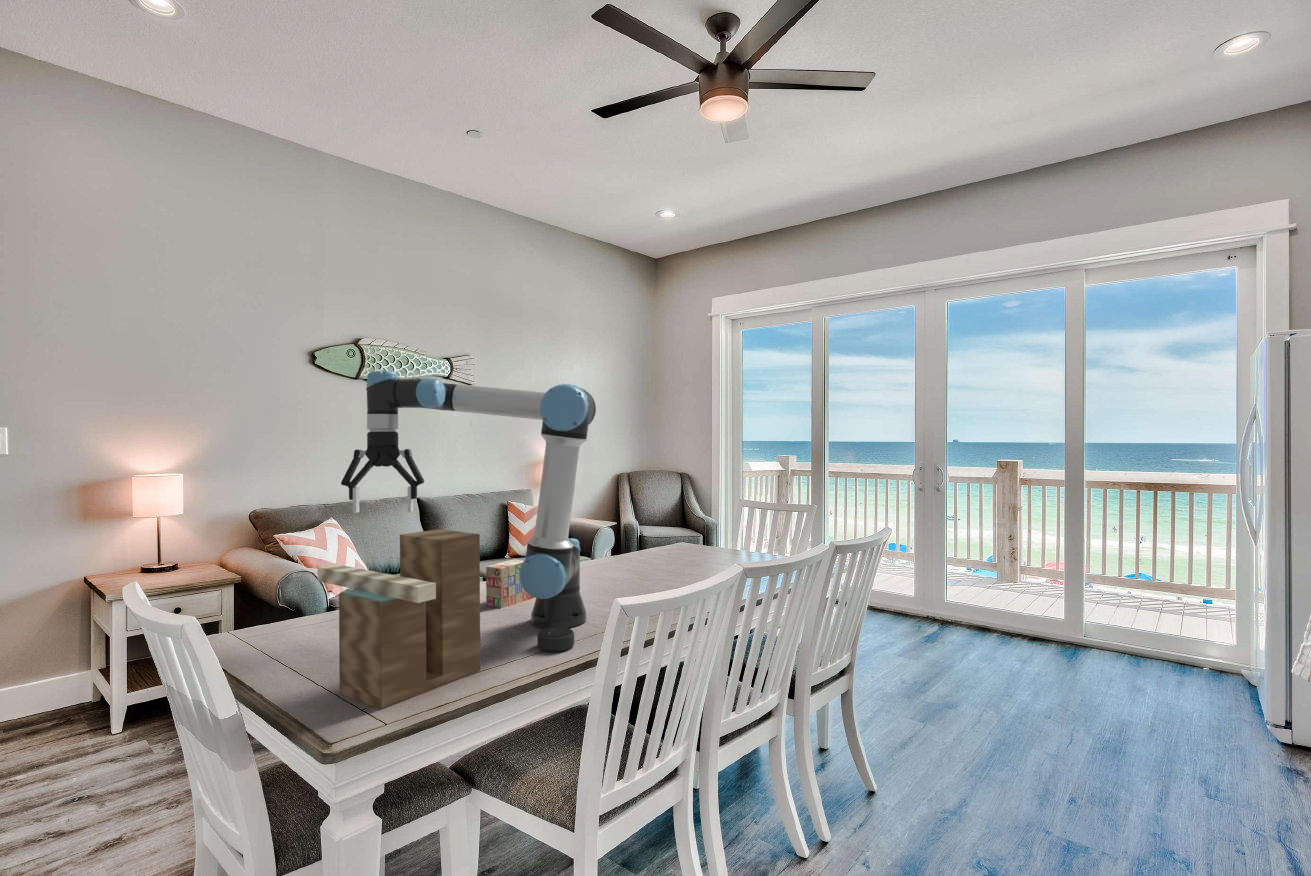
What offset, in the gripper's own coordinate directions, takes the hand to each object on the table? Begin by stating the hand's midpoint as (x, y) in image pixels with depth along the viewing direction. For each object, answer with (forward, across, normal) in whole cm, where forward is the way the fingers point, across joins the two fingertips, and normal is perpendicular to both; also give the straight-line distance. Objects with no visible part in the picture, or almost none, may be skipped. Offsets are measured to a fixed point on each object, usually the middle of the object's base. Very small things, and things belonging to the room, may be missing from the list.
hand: (383, 512), depth 171 cm
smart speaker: (+32, -45, +17) cm, 58 cm away
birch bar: (+11, -9, +39) cm, 42 cm away
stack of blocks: (+32, -31, -31) cm, 55 cm away
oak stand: (+32, -16, +36) cm, 50 cm away
